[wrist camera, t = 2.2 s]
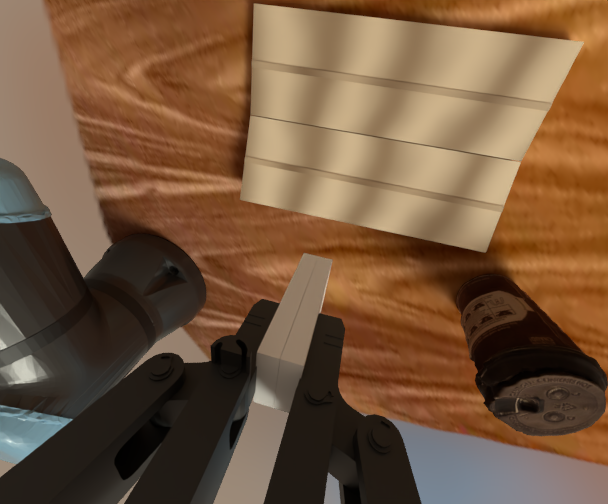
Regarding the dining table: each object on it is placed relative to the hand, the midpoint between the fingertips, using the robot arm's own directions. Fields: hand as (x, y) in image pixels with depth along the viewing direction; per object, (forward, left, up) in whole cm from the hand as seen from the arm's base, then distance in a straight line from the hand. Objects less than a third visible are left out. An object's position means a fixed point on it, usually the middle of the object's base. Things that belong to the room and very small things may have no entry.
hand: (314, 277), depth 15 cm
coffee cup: (+18, -9, -16) cm, 26 cm away
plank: (+2, +2, -15) cm, 15 cm away
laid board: (+2, +10, -16) cm, 19 cm away
